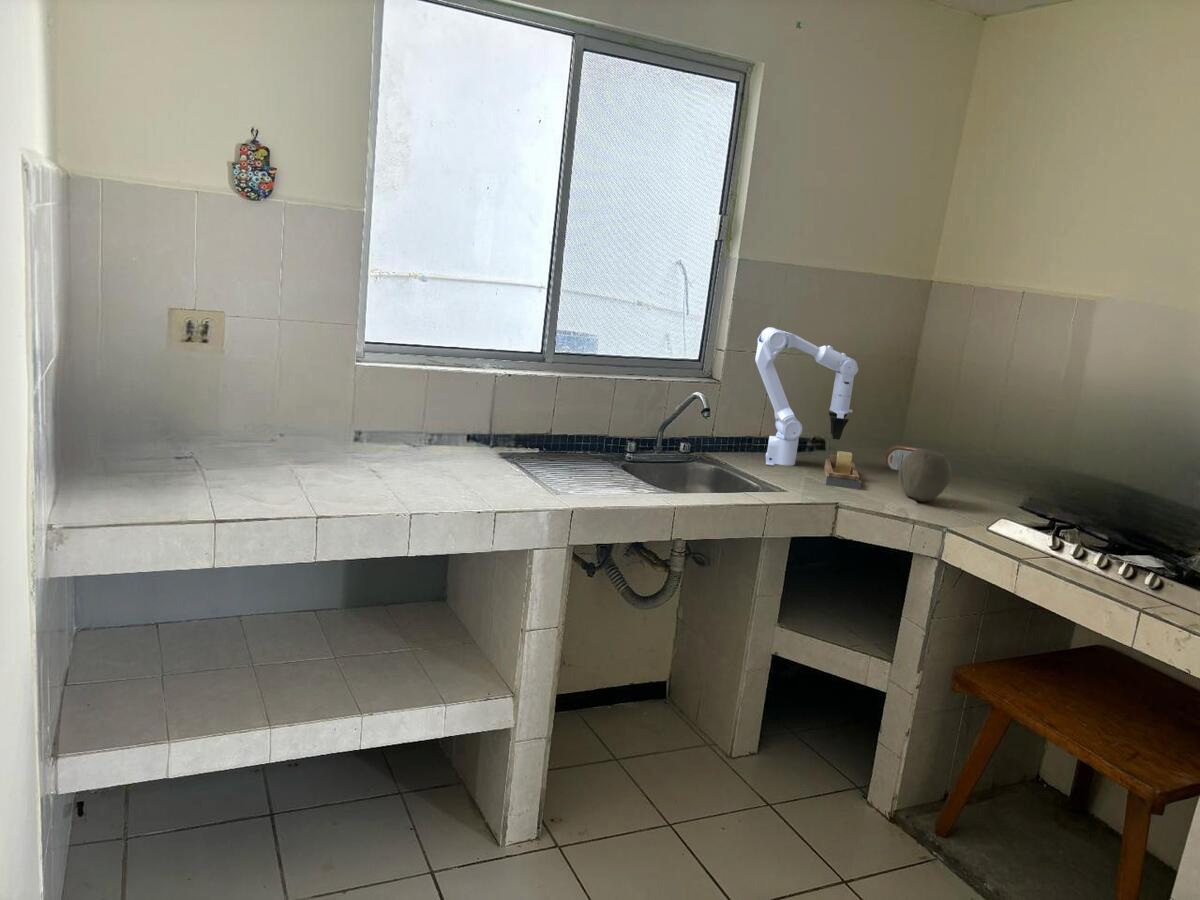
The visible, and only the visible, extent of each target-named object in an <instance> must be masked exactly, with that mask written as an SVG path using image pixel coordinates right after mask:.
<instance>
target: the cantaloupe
mask: <svg viewBox="0 0 1200 900" xmlns="http://www.w3.org/2000/svg"><path fill="white" fill-rule="evenodd" d="M952 473H953V469H952V466H951V463H950V461H949V459H948V458H947V457H946V456H945V454H943V453H941V452H939V451H937V450H933V449H930V448H929V449H928V448H921V449H917V450H914V451H912V452H911V453H910V454H908V455H907V457H906V458H905V459H904V460H903V462H902V464H901V466H900V469H899V471H898V473H897V474H898V475H897V477H898V478H897V479H898V483H899V486H900V489H901V491H902V492H903V493H904V494H905V495H906V496H907V497H909V498H911V499H913V500H914V501H916V502H921V503H922V502H928V501H931V500H934V499H936V498H937V497H938V496H940V495H941V494H942V493H943V492H944V490H945V489H946V488H947V486H948V484H949V483H950V481H951V478H952Z"/></svg>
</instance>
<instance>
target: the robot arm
mask: <svg viewBox="0 0 1200 900" xmlns="http://www.w3.org/2000/svg"><path fill="white" fill-rule="evenodd" d="M784 348H787V349H789V348H796V349H798V350H800V351H802V352H805V353H806V354H809V355H811V356H813V357H814V360H815V362H816V363H818V364H820V365H821V366H824V367H826V368H828V369H830V370H832V371H835V376H834V378H835V379H834V382H833V387H832V388H833V390H832V394H831V401H830V407H829V411H828V415H829V418H830V435H831V436H832V437H831V438H832V439H833V440H837V441H840V439H841V437H842V434H843V432H844V429H845V427H846V425H847V423H848V422H849V420H850V419H849V418H846V417H847V416H848V415H847V414H849V413H850V414H851V413H853V409H850V407H851V406H850V404H851V398H852V393H853V387H854V386H853V385H854V378H855V376H856V374H857V373H858V371H859V367H858V366H859V365H858V362H857V361H856V360H855V359H854V358H851V357H849V356H848V355H846V353H844V352H839V351H837V350H835V349H833V348H834V347H833V346H831V345H829V344H828V345H822V346H817V345H816V344H813V343H812V342H810V341H808V340H805V339H803V338H802V337H801V336H799V335H796V334H794V333H791V332H789V331H788V332H787V331H784V330H782V329H777V328H776V327H771V326H768V327H766V328H764V329H763V330H762V331H761V333H760V334H759V336H758V337H757V347H756V352H755V353H756V354H755V358H754V359H755V360H754V361H755V364H756V367H757V369H758V371H759V375H760V377H761V379H762V382H763V385H764V388H765V390H766V392H767V395H768V397H769V400H770V402H771V405H772V408H773V410H774V419H775V429H776V430H777V432H776V433H775V435H769V436H768V443H767V444H768V445H767V449H766V450H767V451H766V453H765V465H767V466H775V464H776V465H780V466H795V465H796V460H797V451H798V446H799V438H800V436H801V435H802V433H803V425H802V423H801V422H800V421H799V420H798V419H797V417H796V414H795V413H794V412H793V409H792V408H791V406H790V404H789V401H788V398H787V396H786V394H785V393H786V392H785V391H784V388H783V386H782V383H781V380H780V377H779V374H778V372H777V369H776V366H775V364H774V361H775V359H776V357H777V355H778V354H779V353H780V352H781V351H783V349H784Z"/></svg>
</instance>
